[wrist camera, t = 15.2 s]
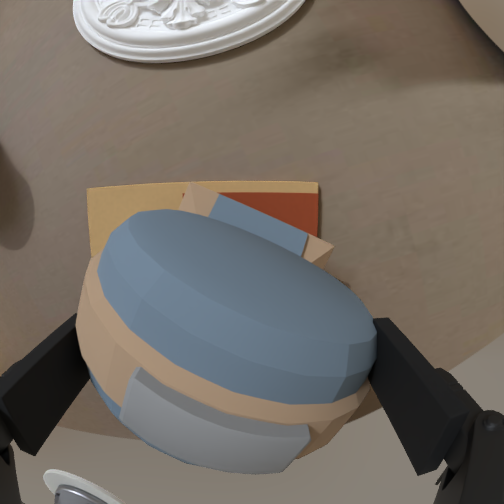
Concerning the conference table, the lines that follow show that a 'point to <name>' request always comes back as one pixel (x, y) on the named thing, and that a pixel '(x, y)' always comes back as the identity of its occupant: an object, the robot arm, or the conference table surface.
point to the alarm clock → (223, 335)
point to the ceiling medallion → (176, 26)
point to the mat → (171, 194)
